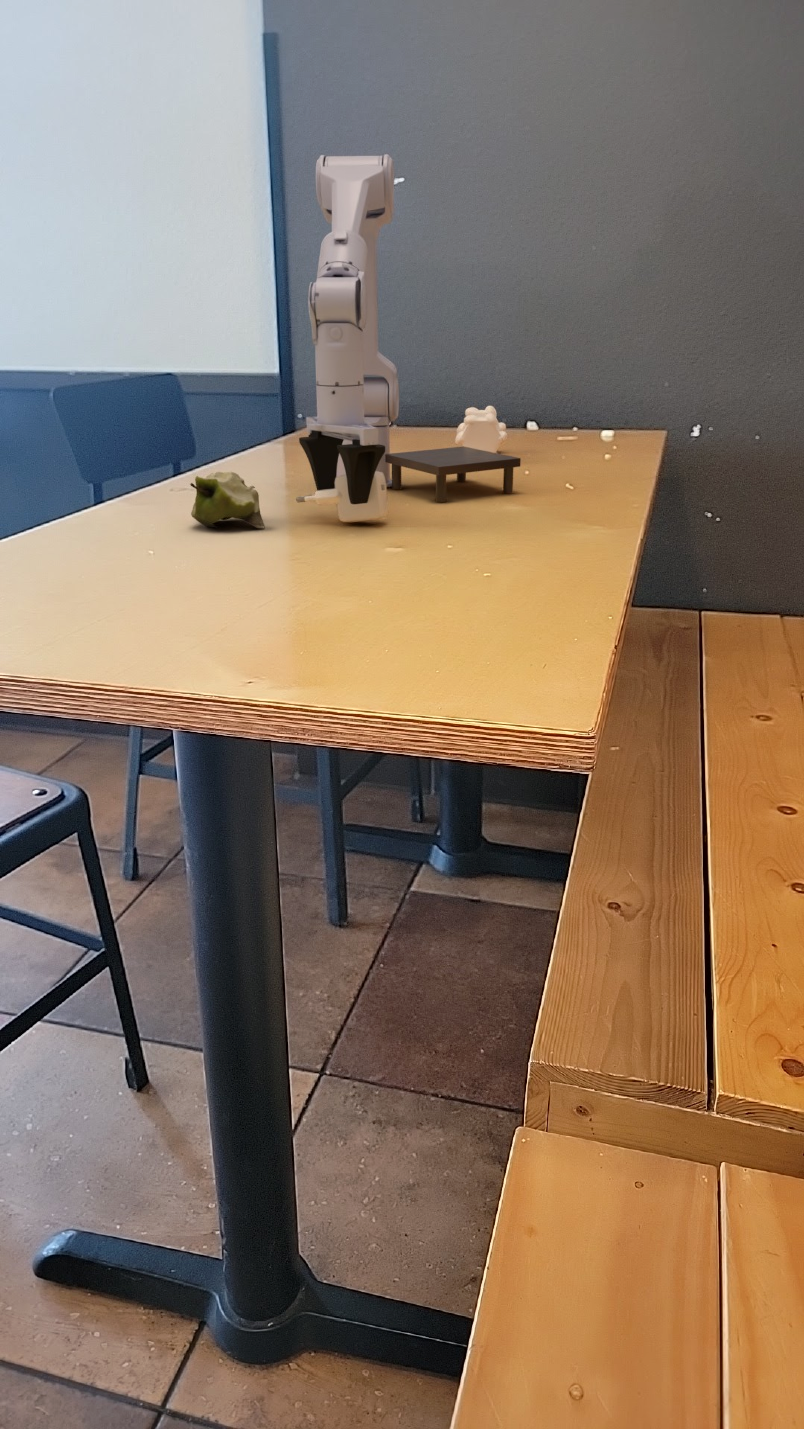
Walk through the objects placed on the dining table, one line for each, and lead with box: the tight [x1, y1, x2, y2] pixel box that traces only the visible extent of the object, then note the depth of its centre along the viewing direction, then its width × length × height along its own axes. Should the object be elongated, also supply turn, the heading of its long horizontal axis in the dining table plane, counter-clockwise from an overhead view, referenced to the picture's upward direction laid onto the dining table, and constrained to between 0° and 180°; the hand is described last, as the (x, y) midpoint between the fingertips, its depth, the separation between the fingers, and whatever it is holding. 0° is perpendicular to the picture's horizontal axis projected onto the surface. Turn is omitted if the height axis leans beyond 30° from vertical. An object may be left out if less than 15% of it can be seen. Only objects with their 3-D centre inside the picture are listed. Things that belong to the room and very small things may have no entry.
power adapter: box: [295, 471, 389, 523], centre depth 133 cm, size 11×5×6 cm, turn 75°
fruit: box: [190, 471, 266, 530], centre depth 132 cm, size 9×9×8 cm
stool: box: [385, 446, 522, 503], centre depth 154 cm, size 14×14×5 cm
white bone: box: [454, 405, 508, 453], centre depth 182 cm, size 15×9×8 cm, turn 176°
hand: (342, 498), depth 133 cm, fingers open, 7 cm apart
